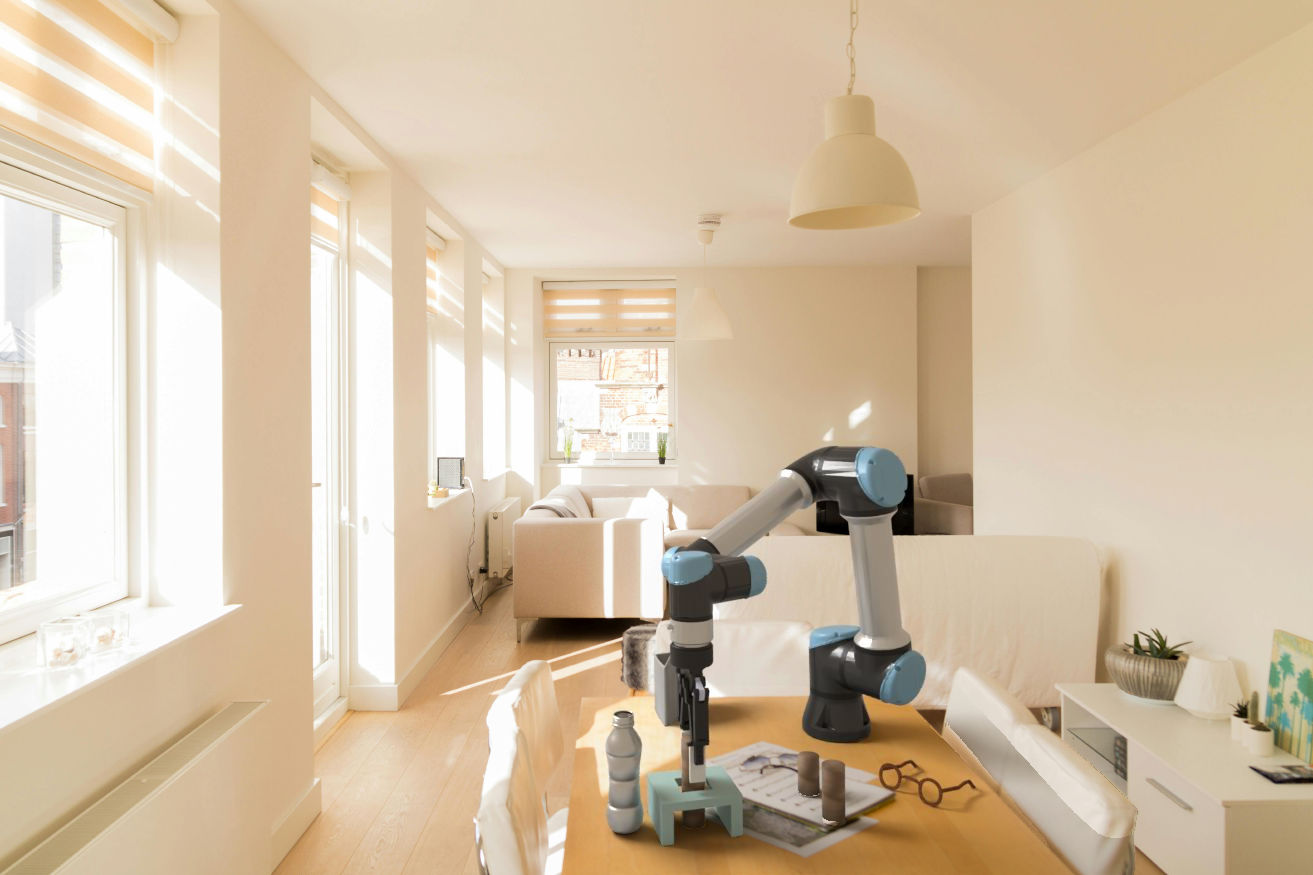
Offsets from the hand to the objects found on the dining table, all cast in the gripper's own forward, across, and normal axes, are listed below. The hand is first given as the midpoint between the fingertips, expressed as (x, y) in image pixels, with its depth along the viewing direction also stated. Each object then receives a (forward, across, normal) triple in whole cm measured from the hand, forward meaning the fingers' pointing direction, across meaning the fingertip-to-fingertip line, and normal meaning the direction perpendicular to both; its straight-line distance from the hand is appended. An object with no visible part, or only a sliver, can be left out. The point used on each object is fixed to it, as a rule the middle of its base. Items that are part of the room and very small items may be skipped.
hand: (693, 773), depth 142 cm
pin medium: (+9, +5, +24) cm, 26 cm away
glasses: (+9, -3, +47) cm, 48 cm away
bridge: (+9, 0, 0) cm, 9 cm away
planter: (+9, -53, +8) cm, 54 cm away
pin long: (+9, 0, 0) cm, 9 cm away
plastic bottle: (+9, -1, -12) cm, 15 cm away
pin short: (+9, -6, +24) cm, 26 cm away
